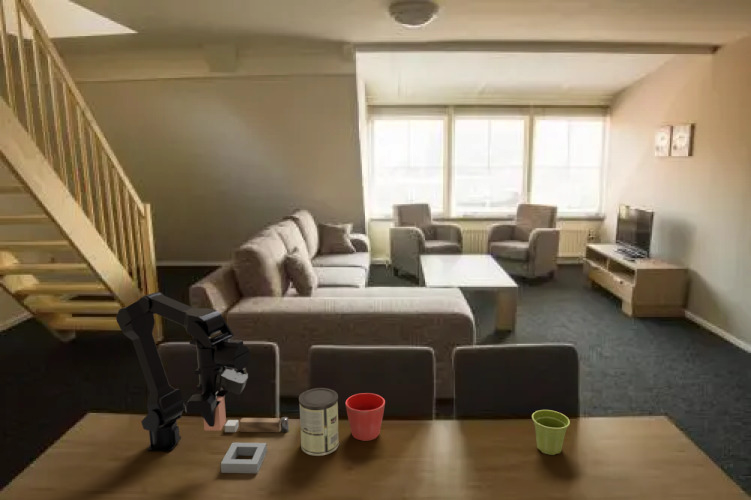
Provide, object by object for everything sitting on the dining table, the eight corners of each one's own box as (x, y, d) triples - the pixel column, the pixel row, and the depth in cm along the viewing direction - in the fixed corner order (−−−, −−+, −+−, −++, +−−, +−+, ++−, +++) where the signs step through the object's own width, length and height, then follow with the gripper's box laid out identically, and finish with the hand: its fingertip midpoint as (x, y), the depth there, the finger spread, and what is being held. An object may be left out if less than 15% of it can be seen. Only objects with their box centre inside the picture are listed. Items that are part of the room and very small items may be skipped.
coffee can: (305, 433, 137) (304, 386, 134) (341, 435, 136) (341, 388, 133) (296, 455, 127) (294, 405, 124) (335, 457, 126) (334, 407, 123)
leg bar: (280, 427, 140) (280, 418, 139) (278, 432, 138) (278, 422, 137) (242, 427, 140) (241, 417, 140) (240, 431, 138) (239, 421, 137)
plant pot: (528, 454, 127) (530, 424, 125) (531, 435, 135) (533, 407, 134) (567, 462, 123) (569, 431, 122) (567, 443, 132) (570, 413, 130)
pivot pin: (280, 432, 138) (279, 420, 137) (281, 427, 140) (281, 416, 139) (287, 432, 138) (287, 420, 137) (289, 428, 140) (289, 416, 139)
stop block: (225, 432, 138) (224, 425, 137) (228, 426, 141) (228, 420, 140) (235, 432, 138) (235, 425, 137) (238, 426, 141) (238, 420, 140)
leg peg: (204, 430, 120) (202, 403, 119) (210, 421, 124) (208, 396, 123) (220, 430, 120) (218, 404, 119) (226, 422, 124) (224, 396, 123)
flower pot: (349, 422, 143) (349, 391, 141) (387, 424, 141) (387, 393, 140) (342, 442, 133) (341, 409, 131) (382, 445, 131) (382, 412, 129)
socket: (221, 472, 120) (220, 463, 119) (233, 451, 129) (232, 442, 128) (257, 473, 120) (257, 464, 119) (266, 451, 128) (266, 443, 128)
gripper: (229, 379, 109) (234, 443, 112) (254, 348, 128) (257, 403, 131) (181, 379, 110) (187, 442, 113) (212, 348, 128) (216, 403, 131)
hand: (215, 421), depth 122 cm, fingers closed on leg peg, 4 cm apart
